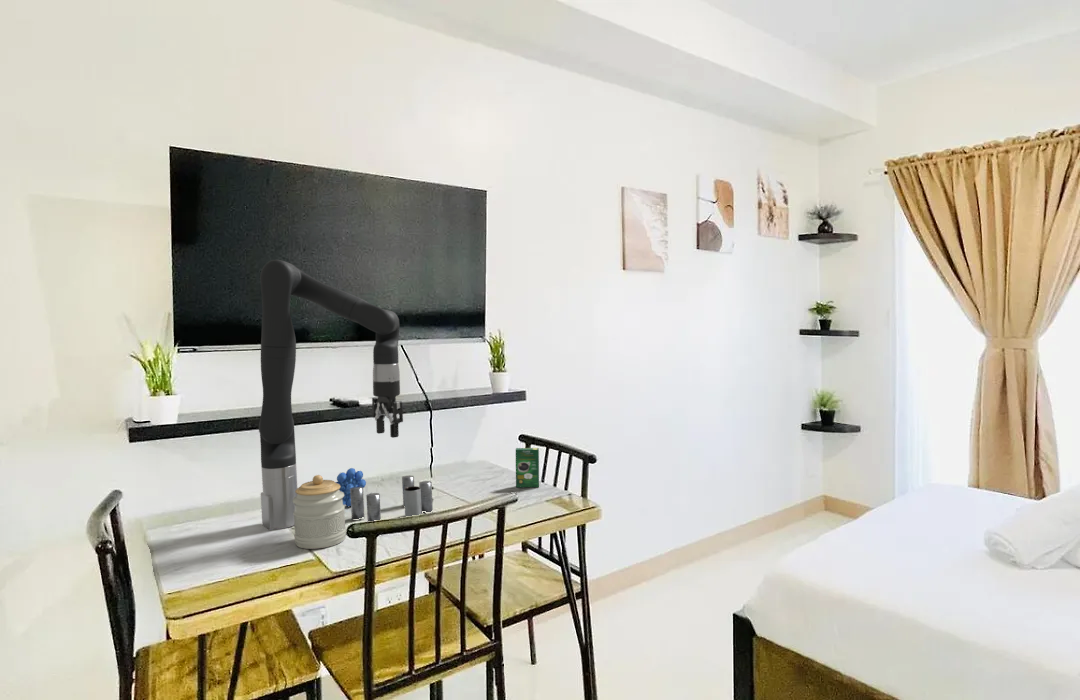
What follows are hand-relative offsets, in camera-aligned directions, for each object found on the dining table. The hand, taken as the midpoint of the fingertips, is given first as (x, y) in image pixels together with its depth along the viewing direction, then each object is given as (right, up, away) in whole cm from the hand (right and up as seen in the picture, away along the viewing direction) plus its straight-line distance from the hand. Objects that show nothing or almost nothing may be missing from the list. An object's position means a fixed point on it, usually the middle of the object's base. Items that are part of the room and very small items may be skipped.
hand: (387, 435), depth 186 cm
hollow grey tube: (+9, -25, -5) cm, 27 cm away
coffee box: (+40, -22, +30) cm, 55 cm away
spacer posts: (+1, -24, +4) cm, 25 cm away
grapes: (-16, -24, +15) cm, 32 cm away
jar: (-14, -26, -16) cm, 33 cm away
